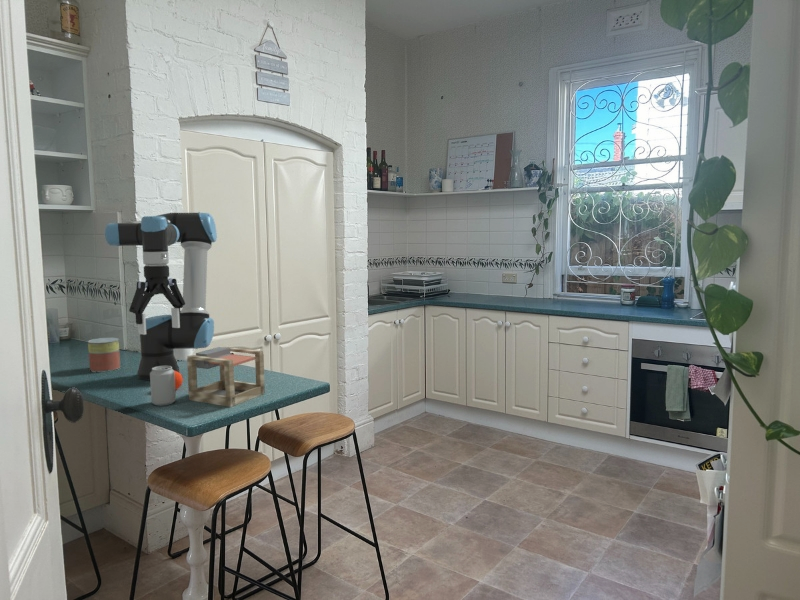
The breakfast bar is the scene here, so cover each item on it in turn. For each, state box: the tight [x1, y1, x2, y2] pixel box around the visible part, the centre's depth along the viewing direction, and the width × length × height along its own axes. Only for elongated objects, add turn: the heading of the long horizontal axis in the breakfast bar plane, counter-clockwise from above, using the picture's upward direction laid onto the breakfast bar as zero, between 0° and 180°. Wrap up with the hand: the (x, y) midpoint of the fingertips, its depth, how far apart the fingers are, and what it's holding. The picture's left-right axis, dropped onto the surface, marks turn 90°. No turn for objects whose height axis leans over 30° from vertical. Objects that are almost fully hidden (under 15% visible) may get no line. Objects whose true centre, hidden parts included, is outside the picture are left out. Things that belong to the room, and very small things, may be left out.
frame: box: [186, 346, 266, 408], centre depth 200 cm, size 18×17×15 cm
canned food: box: [87, 337, 121, 371], centre depth 239 cm, size 11×11×12 cm
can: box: [149, 366, 177, 407], centre depth 193 cm, size 8×8×12 cm
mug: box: [173, 348, 197, 362], centre depth 259 cm, size 12×9×9 cm
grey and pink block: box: [195, 346, 256, 370], centre depth 199 cm, size 16×13×5 cm
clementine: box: [174, 371, 184, 391], centre depth 209 cm, size 8×7×7 cm
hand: (159, 330), depth 191 cm, fingers open, 13 cm apart
